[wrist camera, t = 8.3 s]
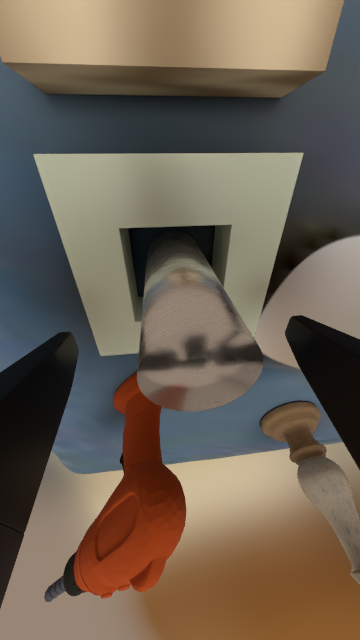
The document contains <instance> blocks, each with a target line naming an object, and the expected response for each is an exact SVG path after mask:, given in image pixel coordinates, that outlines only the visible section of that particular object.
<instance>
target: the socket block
mask: <svg viewBox="0 0 360 640" xmlns="http://www.w3.org/2000/svg"><path fill="white" fill-rule="evenodd" d="M343 3H344V0H0V56H1V59H2V62H3V63H4V64H6V65H7V66H8V67H10V68H11V69H12V70H14V71H15V72H17V73H18V74H19V75H21V76H22V77H23V78H25V79H26V80H28V81H29V82H30V83H32V84H33V85H34V86H36V87H37V88H39V89H40V90H41V91H43V92H44V93H45V94H97V95H157V96H216V97H275V98H281V97H283V96H284V95H286V94H288V93H290V92H291V91H293V90H295V89H296V88H298V87H300V86H301V85H303V84H305V83H306V82H308V81H310V80H311V79H313V78H315V77H316V76H318V75H320V74H321V73H323V72H325V70H326V67H327V63H328V59H329V55H330V52H331V48H332V44H333V40H334V37H335V33H336V29H337V25H338V22H339V18H340V14H341V10H342V7H343Z"/></svg>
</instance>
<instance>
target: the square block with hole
mask: <svg viewBox="0 0 360 640" xmlns="http://www.w3.org/2000/svg"><path fill="white" fill-rule="evenodd" d="M33 155H34V158H35V161H36V164H37V167H38V170H39V173H40V176H41V179H42V182H43V185H44V188H45V191H46V194H47V197H48V200H49V203H50V206H51V209H52V212H53V215H54V218H55V221H56V224H57V227H58V230H59V233H60V236H61V239H62V242H63V245H64V248H65V251H66V254H67V257H68V260H69V263H70V266H71V269H72V272H73V275H74V278H75V281H76V284H77V287H78V290H79V293H80V296H81V299H82V302H83V305H84V308H85V311H86V314H87V317H88V320H89V323H90V326H91V329H92V332H93V335H94V338H95V341H96V344H97V347H98V350H99V353H100V356H108V355H121V354H134V353H139V344H140V333H141V321H142V310H143V298H144V297H138V293H137V286H136V279H135V272H134V266H133V259H132V252H131V245H130V238H129V232H128V228H143V227H174V226H205V225H215V233H214V245H213V257H212V270H213V271H214V273H215V275H216V276H217V278H218V280H219V281H220V283H221V285H222V286H223V288H224V290H225V291H226V293H227V294H228V296H229V298H230V299H231V301H232V303H233V304H234V306H235V308H236V309H237V311H238V313H239V314H240V316H241V318H242V319H243V321H244V323H245V324H246V326H247V328H248V329H249V331H250V333H251V334H252V336H253V338H254V337H255V334H256V330H257V326H258V322H259V319H260V315H261V311H262V307H263V303H264V300H265V296H266V292H267V288H268V285H269V281H270V277H271V273H272V270H273V266H274V262H275V258H276V255H277V251H278V247H279V243H280V240H281V236H282V232H283V228H284V225H285V221H286V217H287V213H288V210H289V206H290V202H291V198H292V194H293V191H294V187H295V183H296V179H297V176H298V172H299V168H300V164H301V161H302V157H303V153H161V154H33Z"/></svg>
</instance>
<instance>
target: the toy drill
mask: <svg viewBox="0 0 360 640" xmlns="http://www.w3.org/2000/svg"><path fill="white" fill-rule="evenodd" d="M113 405H114V407H115V408H116V409H117V410H118V411H119V412H121V413H122V414H125V428H124V433H123V453H122V456H121V458H120V463H121V464H122V466H123V470H124V476H123V479H122V481H121V482H120V483H119V485H118V486H117V488H116V489H115V491H114V492H113V494H112V495H111V497H110V498H109V500H108V501H107V503H106V505H105V506H104V508H103V509H102V511H101V512H100V514H99V515H98V517H97V518H96V519H95V521H94V522H93V523H92V525H91V526H90V527H89V529H88V530H87V532H86V534H85V536H84V538H83V540H82V541H81V543H80V545H79V547H78V550H77V551H76V552H75V553H74V554H73V555H72V556H71V557H70V559H69V560H68V562H67V564H66V567H65V570H64V575H63V576H62V577H61V578H59V579H58V580H57V581H56V582H54V583H53V584H52V585H51V586H49V587H48V589H47V591H46V592H45V597H44V598H45V601H46V602H50V601H51V600H53V599H54V598H56V597H57V596H58V595H60V594H61V593H63V592H65V591H66V592H67V593H68V594H69V595H71V596H77V595H80V594H81V593H83V592H91V593H93V594H94V595H99V596H101V598H108V597H111V595H112V593H113V592H115V591H116V590H117V589H118V591H123V590H126V589H128V588H129V587H130V585H132V587H133V588H134V589H135V590H137V591H139V592H143V591H147V590H149V589H150V588H152V587H154V585H155V584H156V583H157V581H158V579H159V578H160V576H161V574H162V572H163V569H164V566H165V563H166V560H167V559H168V558H169V557H170V556H171V554H172V553H173V551H174V549H175V548H176V546H177V544H178V542H179V541H180V538H181V535H182V532H183V529H184V527H185V519H186V504H185V496H184V493H183V489H182V486H181V484H180V481H179V480H178V479H177V477H176V476H175V475H174V474H173V473H172V472H171V471H170V470H169V469H168V468H167V467H166V466H165V465H163V464H162V457H161V449H160V434H159V427H160V412H161V406H159V405H157V404H155V403H153V402H152V401H150V400H149V399H148V398H147V397H146V396H145V395H144V394H143V393H142V392H141V390H140V388H139V386H138V382H137V373H135V374H133V375H132V376H131V377H129V378H128V379H127V380H126V381H125V382H123V383H122V384H121V386H120V387H119V388H118V389H117V391H116V393H115V395H114V398H113Z"/></svg>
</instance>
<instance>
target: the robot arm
mask: <svg viewBox="0 0 360 640" xmlns="http://www.w3.org/2000/svg"><path fill="white" fill-rule="evenodd" d="M285 336H286V338H287V341H288V343H289V345H290V347H291V349H292V352H293V354H294V356H295V358H296V361H297V363H298V365H299V367H300V369H301V371H302V372H303V374H304V376H305V377H306V379H307V381H308V383H309V384H310V386H311V388H312V389H313V391H314V393H315V395H316V396H317V398H318V400H319V401H320V403H321V405H322V406H323V408H324V410H325V412H326V413H327V415H328V417H329V418H330V420H331V422H332V424H333V425H334V427H335V429H336V430H337V432H338V434H339V436H340V437H341V439H342V441H343V442H344V444H345V446H346V447H347V449H348V451H349V453H350V454H351V456H352V458H353V459H354V461H355V463H356V464H357V466H358V468H359V470H360V339H357V338H355V337H352V336H350V335H348V334H345V333H343V332H340V331H338V330H336V329H333V328H331V327H329V326H326V325H324V324H321V323H319V322H316V321H314V320H312V319H309V318H307V317H304V316H301V315H300V316H292V317H291V318H290V320H289V323H288V325H287V328H286V331H285ZM78 353H79V349H78V346H77V343H76V341H75V338H74V336H73V334H72V333H71V332H60V333H58V334H56V335H55V336H54V337H52V338H51V339H49V340H48V341H46V342H45V343H43V344H42V345H40V346H39V347H37V348H36V349H34V350H33V351H31V352H30V353H28V354H27V355H25V356H24V357H23V358H21V359H20V360H18V361H17V362H15V363H14V364H12V365H11V366H9V367H8V368H6V369H5V370H3V371H2V372H0V608H1V605H2V602H3V599H4V595H5V592H6V589H7V586H8V583H9V580H10V577H11V573H12V571H13V568H14V565H15V561H16V558H17V555H18V552H19V549H20V546H21V543H22V540H23V537H24V532H25V530H26V527H27V524H28V520H29V517H30V514H31V511H32V508H33V505H34V502H35V499H36V496H37V493H38V490H39V487H40V484H41V481H42V478H43V474H44V471H45V468H46V465H47V462H48V459H49V456H50V453H51V450H52V447H53V444H54V441H55V437H56V434H57V431H58V428H59V425H60V422H61V419H62V416H63V413H64V410H65V407H66V404H67V400H68V397H69V394H70V391H71V388H72V383H73V378H74V373H75V368H76V363H77V358H78Z"/></svg>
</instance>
